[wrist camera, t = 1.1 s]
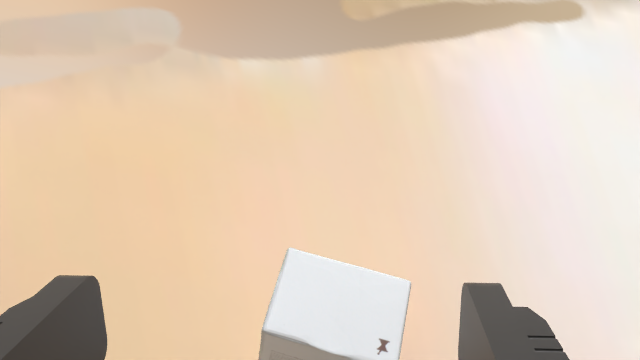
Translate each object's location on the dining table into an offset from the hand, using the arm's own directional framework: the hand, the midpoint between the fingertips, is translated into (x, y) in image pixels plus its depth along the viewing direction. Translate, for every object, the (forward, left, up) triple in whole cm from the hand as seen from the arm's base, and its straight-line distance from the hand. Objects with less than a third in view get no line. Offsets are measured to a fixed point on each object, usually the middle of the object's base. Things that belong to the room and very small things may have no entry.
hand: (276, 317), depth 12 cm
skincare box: (+2, +4, -24) cm, 24 cm away
